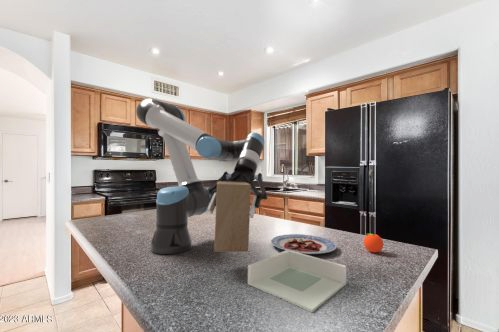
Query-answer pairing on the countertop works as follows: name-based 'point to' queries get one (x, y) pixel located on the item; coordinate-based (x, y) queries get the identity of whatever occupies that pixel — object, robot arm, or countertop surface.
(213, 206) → the robot arm
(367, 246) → the clementine
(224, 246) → the wooden block
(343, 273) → the corner arena
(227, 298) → the countertop surface
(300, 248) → the ceramic plate
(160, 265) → the countertop surface
